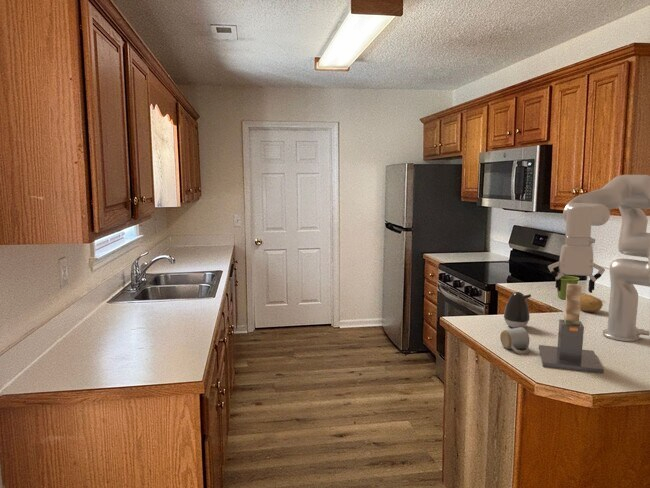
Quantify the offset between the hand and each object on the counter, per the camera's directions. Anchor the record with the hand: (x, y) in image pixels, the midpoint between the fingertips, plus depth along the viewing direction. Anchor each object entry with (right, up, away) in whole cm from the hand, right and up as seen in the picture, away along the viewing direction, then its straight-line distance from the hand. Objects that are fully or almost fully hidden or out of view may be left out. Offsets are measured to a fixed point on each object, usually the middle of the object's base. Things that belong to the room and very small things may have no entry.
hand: (574, 291), depth 165 cm
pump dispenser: (-4, -20, +41) cm, 46 cm away
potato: (+40, -16, +65) cm, 78 cm away
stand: (0, -25, +3) cm, 25 cm away
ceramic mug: (-14, -23, +14) cm, 31 cm away
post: (0, -16, +2) cm, 17 cm away
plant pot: (+42, -13, +89) cm, 99 cm away
